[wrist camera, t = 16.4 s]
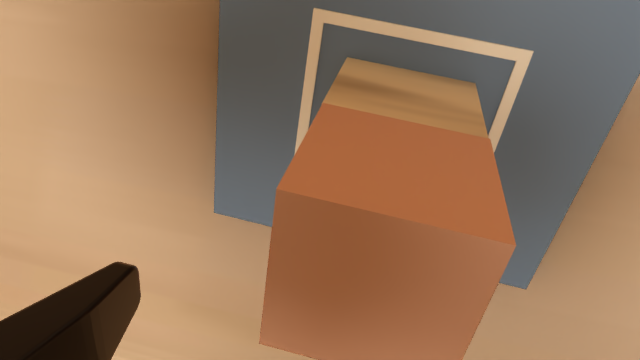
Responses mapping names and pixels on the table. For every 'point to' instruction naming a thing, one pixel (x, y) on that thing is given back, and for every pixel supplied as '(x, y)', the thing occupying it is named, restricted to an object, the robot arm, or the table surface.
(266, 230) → the table surface
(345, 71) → the maple block
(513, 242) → the terracotta block
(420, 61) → the board
